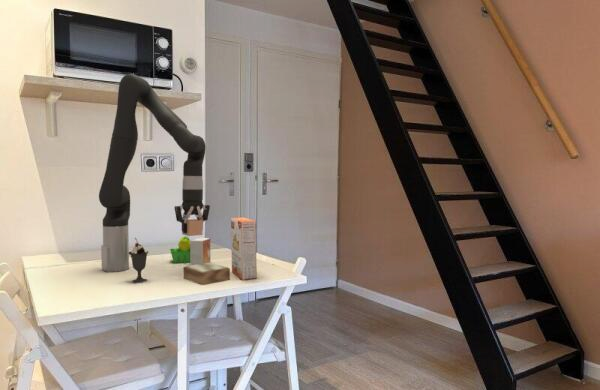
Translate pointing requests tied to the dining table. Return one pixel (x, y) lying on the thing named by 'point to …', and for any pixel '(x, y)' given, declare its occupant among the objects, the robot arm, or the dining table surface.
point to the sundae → (138, 261)
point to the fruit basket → (182, 251)
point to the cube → (194, 227)
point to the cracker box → (243, 248)
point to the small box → (200, 251)
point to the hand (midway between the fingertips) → (192, 232)
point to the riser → (206, 273)
